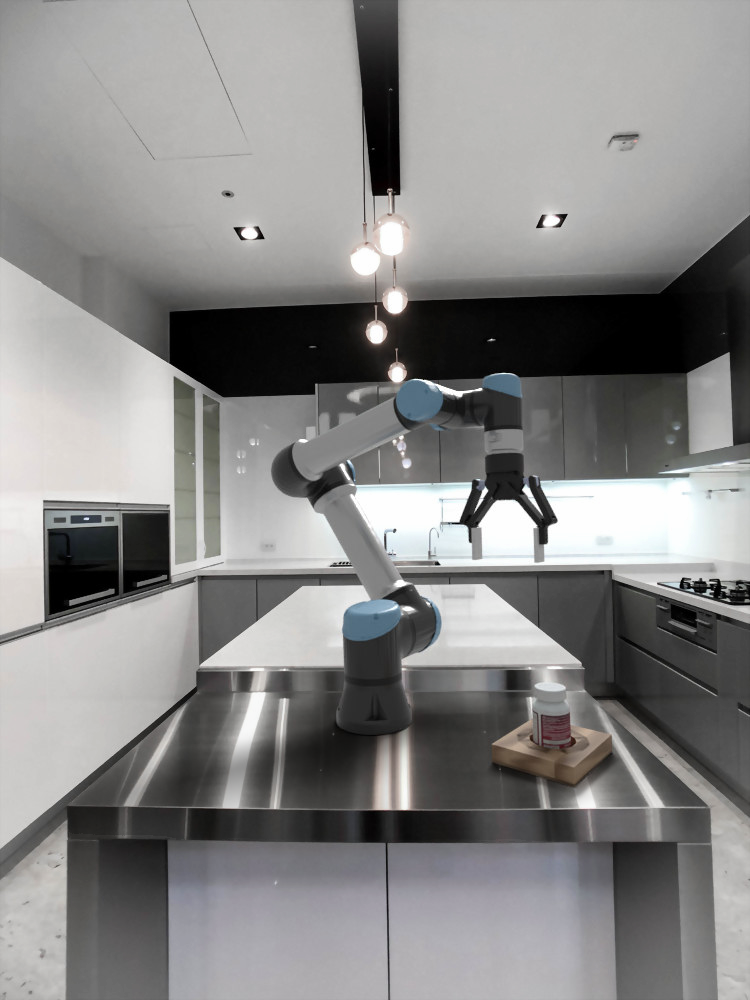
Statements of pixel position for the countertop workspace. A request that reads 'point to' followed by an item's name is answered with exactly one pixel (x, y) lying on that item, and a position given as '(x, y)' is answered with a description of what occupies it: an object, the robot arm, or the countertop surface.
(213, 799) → the countertop surface
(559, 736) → the pill bottle
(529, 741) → the socket block
